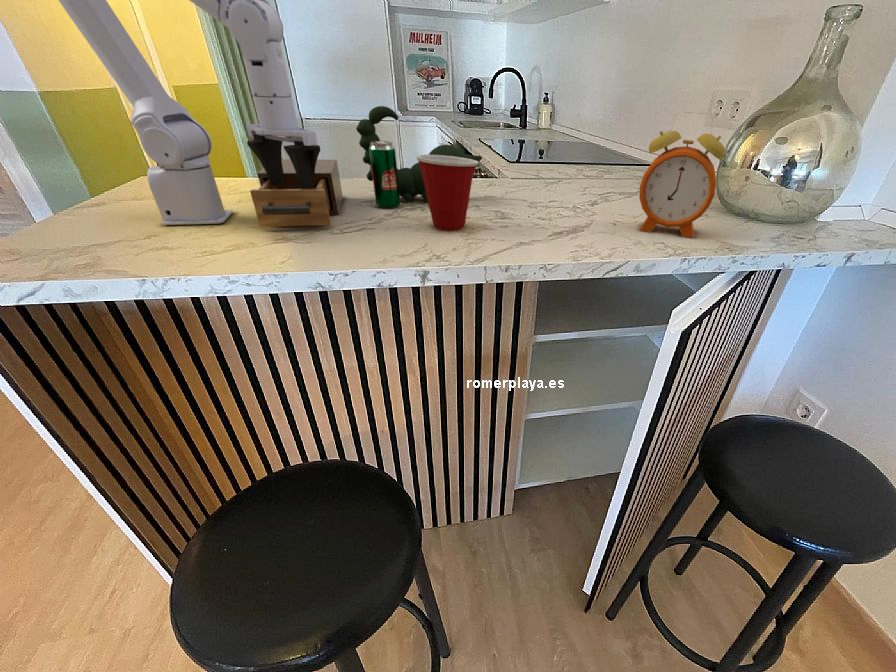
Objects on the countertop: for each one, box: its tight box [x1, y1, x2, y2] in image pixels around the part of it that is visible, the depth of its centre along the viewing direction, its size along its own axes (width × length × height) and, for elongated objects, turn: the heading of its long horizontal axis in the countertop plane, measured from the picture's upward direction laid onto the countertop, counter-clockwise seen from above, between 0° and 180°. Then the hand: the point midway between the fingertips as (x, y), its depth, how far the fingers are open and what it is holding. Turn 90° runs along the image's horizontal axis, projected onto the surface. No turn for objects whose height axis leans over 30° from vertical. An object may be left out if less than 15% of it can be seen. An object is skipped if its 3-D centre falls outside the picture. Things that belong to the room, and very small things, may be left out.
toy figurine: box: [355, 105, 483, 203], centre depth 95 cm, size 9×19×25 cm
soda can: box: [369, 140, 401, 209], centre depth 91 cm, size 5×5×12 cm
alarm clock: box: [638, 111, 726, 239], centre depth 82 cm, size 13×6×20 cm, turn 70°
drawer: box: [249, 178, 332, 228], centre depth 80 cm, size 18×11×6 cm, turn 14°
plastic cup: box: [415, 154, 480, 232], centre depth 81 cm, size 11×11×12 cm
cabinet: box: [256, 158, 344, 216], centre depth 90 cm, size 15×13×8 cm
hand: (293, 187), depth 79 cm, fingers open, 7 cm apart
